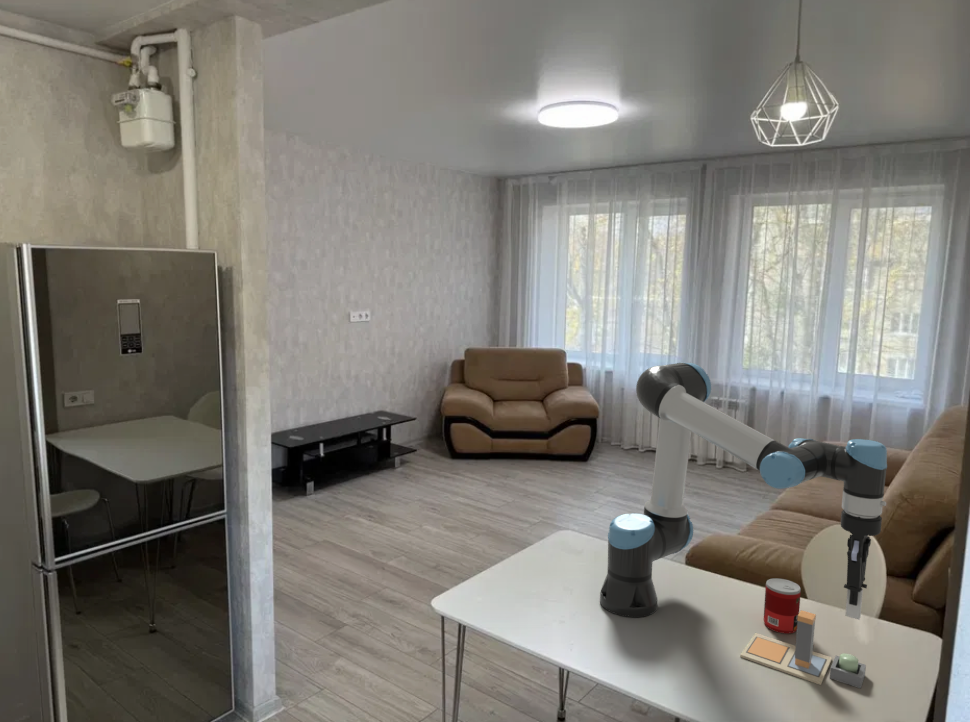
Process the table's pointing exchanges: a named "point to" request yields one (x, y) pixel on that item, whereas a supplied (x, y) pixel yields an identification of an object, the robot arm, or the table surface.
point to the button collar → (847, 674)
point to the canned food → (781, 605)
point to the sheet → (785, 658)
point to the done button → (848, 663)
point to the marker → (804, 638)
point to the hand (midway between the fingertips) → (852, 616)
